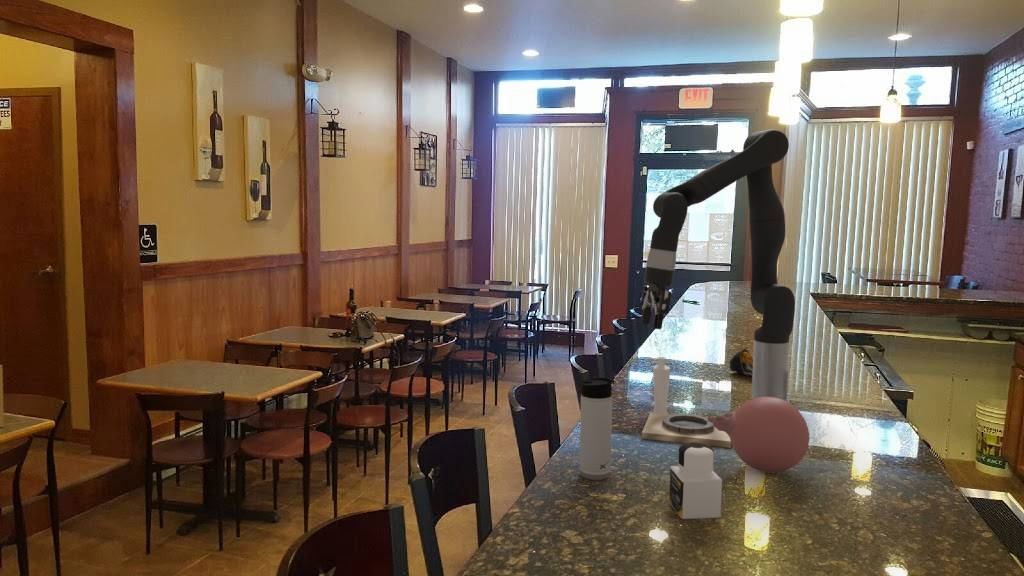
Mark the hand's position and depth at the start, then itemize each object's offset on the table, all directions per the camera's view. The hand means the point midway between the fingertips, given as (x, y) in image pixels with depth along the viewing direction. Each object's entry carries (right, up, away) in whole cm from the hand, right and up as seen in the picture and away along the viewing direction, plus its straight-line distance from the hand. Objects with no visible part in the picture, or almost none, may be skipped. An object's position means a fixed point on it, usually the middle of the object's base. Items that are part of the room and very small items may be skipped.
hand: (650, 326), depth 186 cm
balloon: (+13, -28, -42) cm, 52 cm away
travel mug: (-21, -28, -46) cm, 58 cm away
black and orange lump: (+41, -19, +37) cm, 58 cm away
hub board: (+5, -25, -19) cm, 31 cm away
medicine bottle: (-5, -30, -62) cm, 69 cm away
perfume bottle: (+2, -23, -3) cm, 23 cm away
